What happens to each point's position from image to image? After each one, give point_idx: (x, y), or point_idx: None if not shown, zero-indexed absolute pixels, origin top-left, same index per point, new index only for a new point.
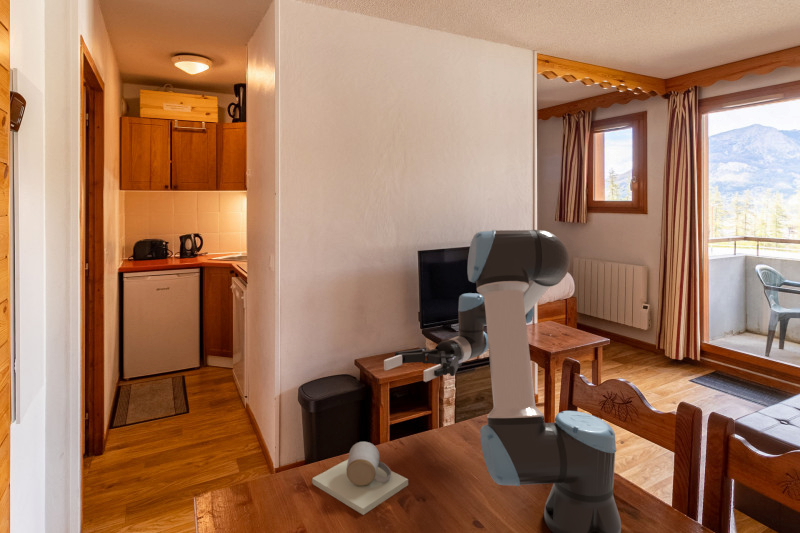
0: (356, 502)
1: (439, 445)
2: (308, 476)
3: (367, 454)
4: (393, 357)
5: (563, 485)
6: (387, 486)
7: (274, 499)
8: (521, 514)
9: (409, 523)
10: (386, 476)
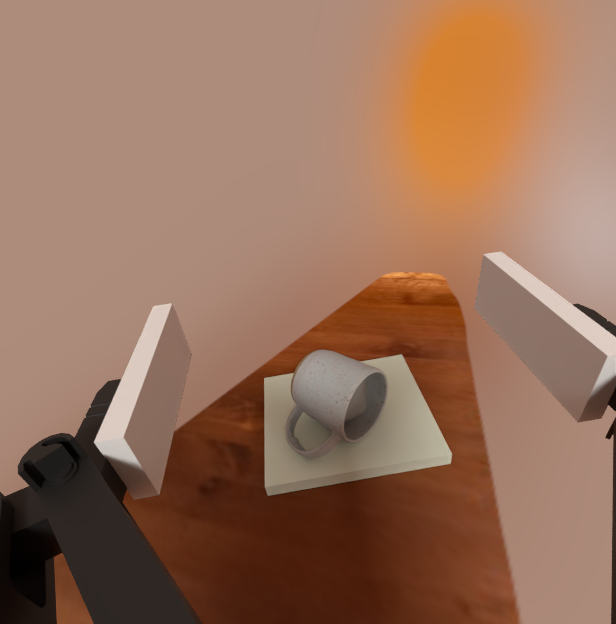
0: (285, 377)
1: None
2: (431, 365)
3: (314, 369)
4: (545, 294)
5: None
6: (280, 436)
7: (393, 320)
8: None
9: (188, 427)
10: None
